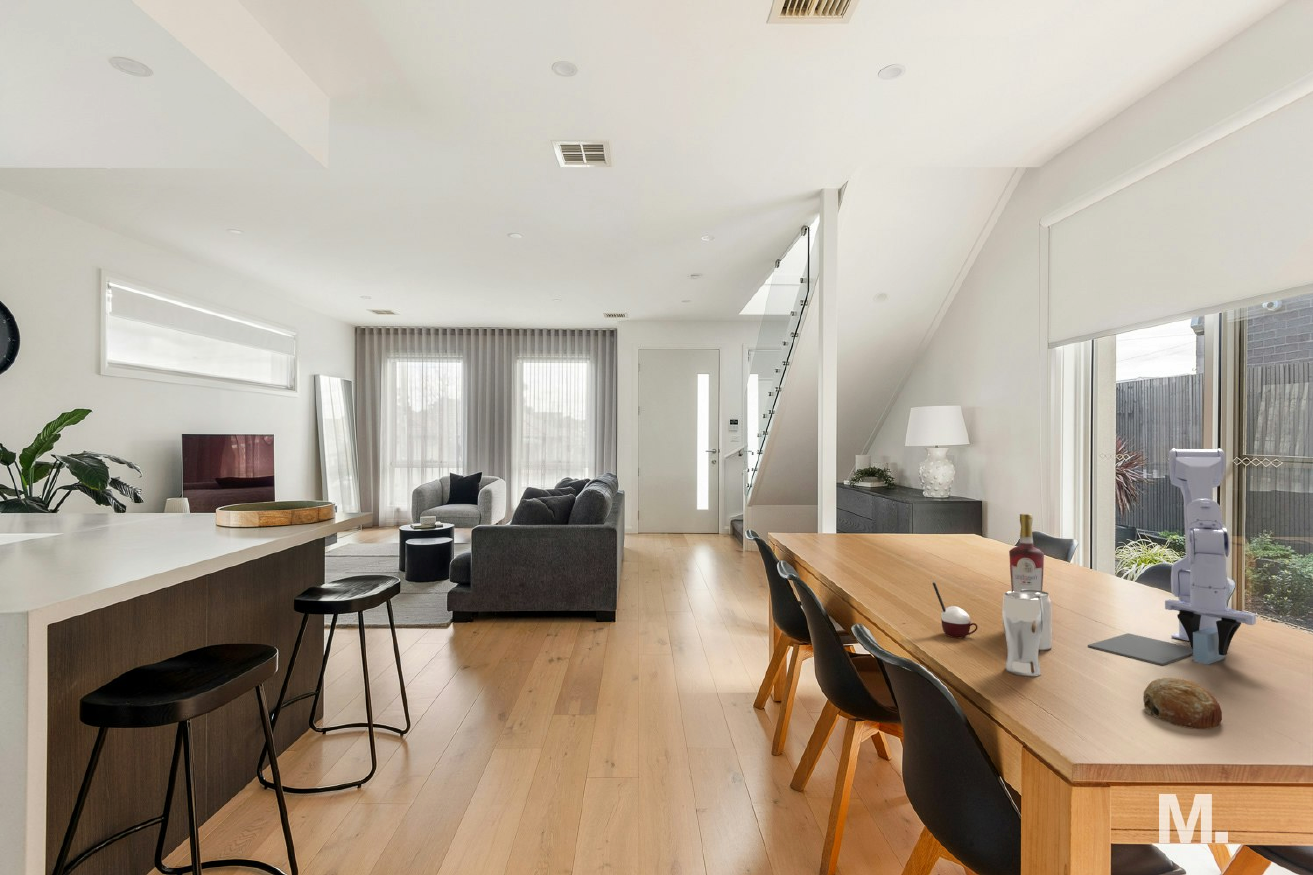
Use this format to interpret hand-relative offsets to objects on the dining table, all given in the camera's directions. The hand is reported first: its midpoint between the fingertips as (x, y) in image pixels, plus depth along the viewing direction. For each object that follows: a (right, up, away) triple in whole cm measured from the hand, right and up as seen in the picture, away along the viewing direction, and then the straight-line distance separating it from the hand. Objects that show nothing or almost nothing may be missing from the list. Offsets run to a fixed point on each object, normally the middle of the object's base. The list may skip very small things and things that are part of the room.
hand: (1208, 651), depth 132 cm
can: (-31, -2, +9) cm, 33 cm away
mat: (-8, -2, +7) cm, 11 cm away
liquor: (-26, -2, +21) cm, 33 cm away
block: (0, -2, 0) cm, 2 cm away
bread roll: (-29, -2, -28) cm, 40 cm away
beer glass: (-43, -2, -7) cm, 44 cm away
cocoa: (-45, -2, +17) cm, 48 cm away
